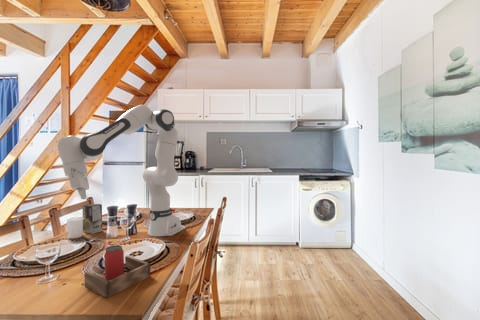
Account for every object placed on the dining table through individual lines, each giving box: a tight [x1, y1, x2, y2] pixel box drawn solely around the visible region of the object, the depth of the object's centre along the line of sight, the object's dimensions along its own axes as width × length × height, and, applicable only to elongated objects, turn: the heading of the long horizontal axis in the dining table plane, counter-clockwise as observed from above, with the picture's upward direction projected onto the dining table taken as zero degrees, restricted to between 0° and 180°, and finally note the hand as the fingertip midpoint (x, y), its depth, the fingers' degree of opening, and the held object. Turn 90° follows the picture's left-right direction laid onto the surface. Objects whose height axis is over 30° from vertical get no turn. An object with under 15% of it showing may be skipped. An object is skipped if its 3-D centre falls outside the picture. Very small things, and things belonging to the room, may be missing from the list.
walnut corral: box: [84, 255, 151, 299], centre depth 96 cm, size 17×14×5 cm
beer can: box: [103, 245, 125, 281], centre depth 97 cm, size 7×7×12 cm
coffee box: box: [82, 202, 103, 234], centre depth 153 cm, size 9×6×16 cm
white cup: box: [66, 216, 84, 239], centre depth 144 cm, size 8×8×10 cm
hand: (84, 198), depth 118 cm, fingers closed
